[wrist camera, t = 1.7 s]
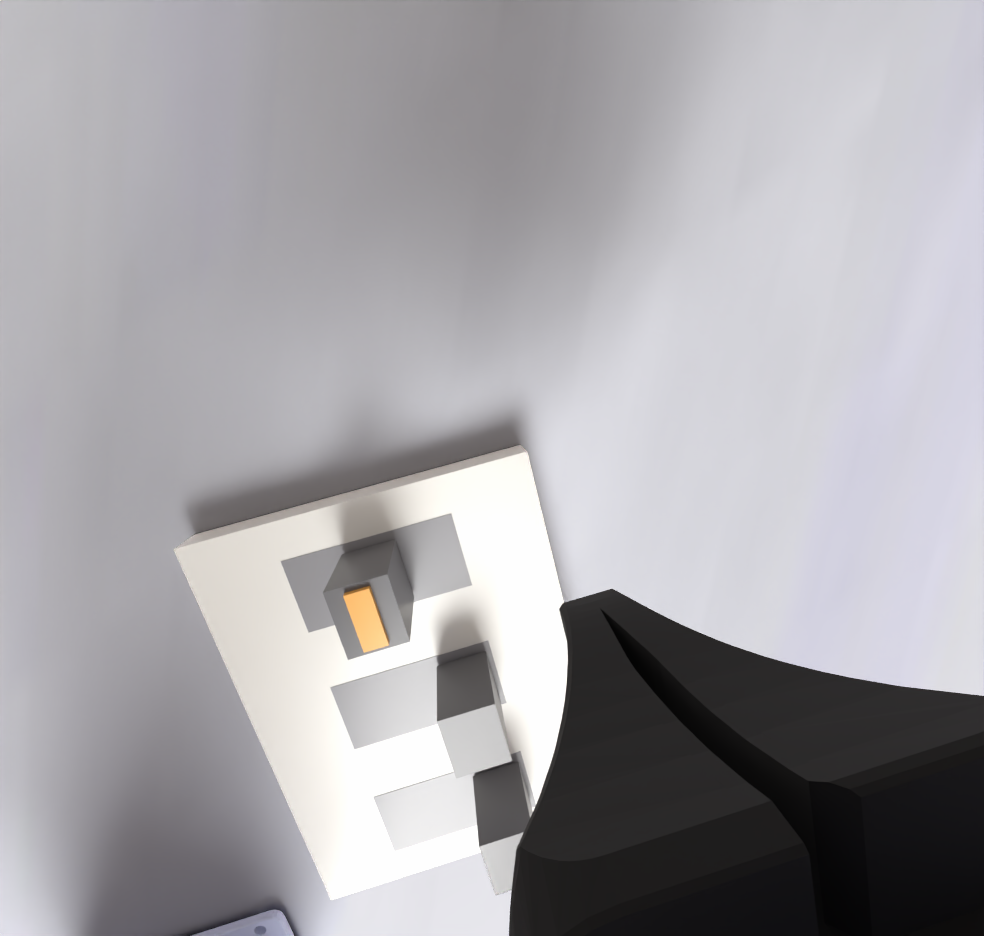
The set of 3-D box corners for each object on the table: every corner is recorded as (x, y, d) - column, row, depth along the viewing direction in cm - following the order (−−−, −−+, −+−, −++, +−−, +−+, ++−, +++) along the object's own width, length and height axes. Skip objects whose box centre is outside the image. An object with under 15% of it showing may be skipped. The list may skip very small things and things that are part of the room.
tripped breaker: (362, 611, 18) (346, 663, 15) (341, 554, 17) (321, 595, 14) (414, 596, 18) (409, 645, 15) (395, 538, 17) (386, 577, 14)
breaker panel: (337, 865, 22) (312, 994, 18) (194, 534, 18) (113, 591, 14) (602, 780, 23) (643, 884, 18) (520, 444, 19) (547, 470, 14)
